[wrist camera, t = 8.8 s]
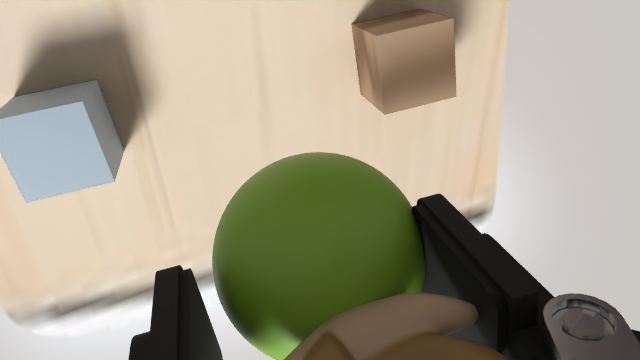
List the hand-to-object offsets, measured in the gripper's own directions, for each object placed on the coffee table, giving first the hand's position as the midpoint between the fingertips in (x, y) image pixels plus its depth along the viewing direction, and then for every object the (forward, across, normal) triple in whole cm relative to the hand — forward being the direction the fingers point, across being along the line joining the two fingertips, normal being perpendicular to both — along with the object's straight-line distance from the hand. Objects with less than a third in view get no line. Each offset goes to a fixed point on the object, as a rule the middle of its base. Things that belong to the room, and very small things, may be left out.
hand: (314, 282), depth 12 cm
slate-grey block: (+23, +11, +1) cm, 26 cm away
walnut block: (+23, -11, +1) cm, 26 cm away
